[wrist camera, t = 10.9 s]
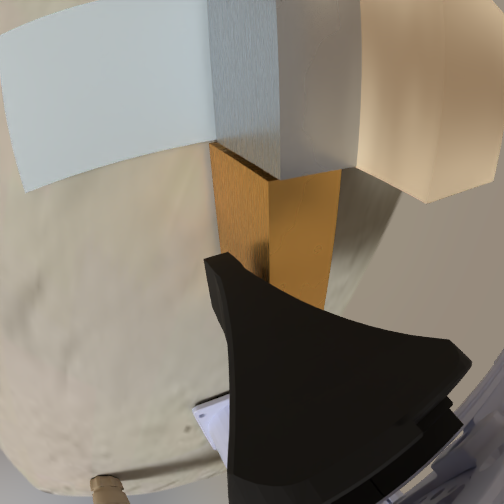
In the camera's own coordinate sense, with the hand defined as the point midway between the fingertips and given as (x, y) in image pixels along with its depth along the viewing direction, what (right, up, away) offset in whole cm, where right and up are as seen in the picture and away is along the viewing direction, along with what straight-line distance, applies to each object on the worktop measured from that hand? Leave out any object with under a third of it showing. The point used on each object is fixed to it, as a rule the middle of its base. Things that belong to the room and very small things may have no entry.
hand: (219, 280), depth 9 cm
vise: (0, +7, -1) cm, 7 cm away
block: (+3, +7, -1) cm, 8 cm away
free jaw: (+1, +4, 0) cm, 4 cm away
